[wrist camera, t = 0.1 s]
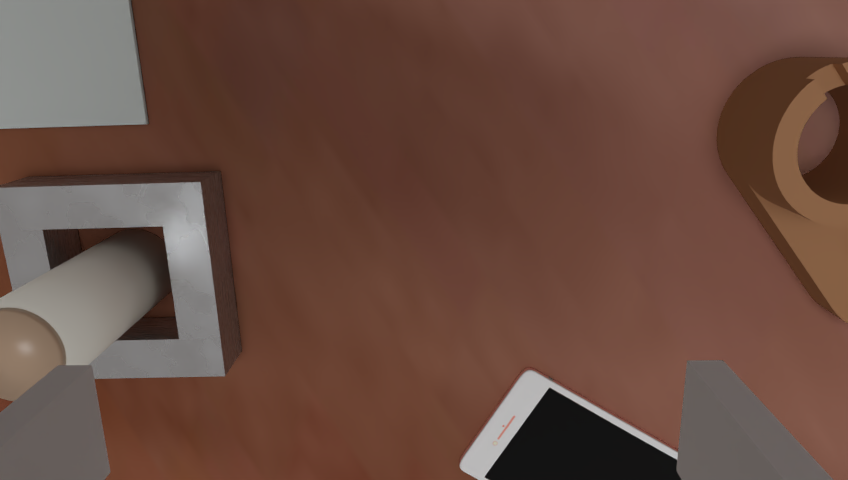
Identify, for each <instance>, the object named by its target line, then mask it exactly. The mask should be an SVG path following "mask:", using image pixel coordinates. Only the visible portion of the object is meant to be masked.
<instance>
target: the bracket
mask: <svg viewBox="0 0 848 480" xmlns="http://www.w3.org/2000/svg"><path fill="white" fill-rule="evenodd" d="M826 92H829V93H830V95H831V96H832V97H833V99H834V101H835V103H836V105H837V108H838V111H839V117H840V127H839V133H838V137H837V140H836V142H835V145H834V147H833V149H832V150H831V152H830V153H829V155H828V156H827V157H826V158H825V160H824V161H823V162H822V163H821V164H820V165H818V166H817V167H816V168H815V169H813V170H812V171H810V172H808V173H806V174H804V175H801V173H800V170H799V166H798V158H797V150H798V143H799V139H800V136H801V133H802V130H803V128H804V126H805V124H806V122H807V121H808V119H809V117H810V116H811V115H812V113H813V112H814V111H815V110H816V109H817V107H818V106H820V105H821V104H822V103H823V102H824V101H825V100H826V99H827V97H826V96H825V94H824V93H826ZM717 148H718V153H719V157H720V160H721V163H722V165H723V167H724V169H725V171H726V172H727V174H728V175H729V177H730V178H731V180H732V181H733V183H734V184H735V186H736V187H737V189H738V190H739V192H740V193H741V195H742V196H743V197H744V199H745V200H746V202H747V203H748V205H749V206H750V208H751V209H752V211H753V212H754V214H755V215H756V217H757V218H758V220H759V221H760V222H761V224H762V225H763V227H764V228H765V230H766V231H767V233H768V234H769V236H770V237H771V239H772V240H773V242H774V243H775V244H776V246H777V247H778V249H779V250H780V252H781V253H782V255H783V256H784V258H785V259H786V261H787V262H788V264H789V265H790V267H791V268H792V269H793V271H794V272H795V274H796V275H797V277H798V278H799V280H800V281H801V283H802V284H803V286H804V287H805V289H806V290H807V292H808V293H809V294H810V296H811V297H812V298H813V299H814V300H815V301H816V302H817V303H818V304H819V305H821V306H822V307H824V308H825V309H827V310H828V311H830V312H831V313H833V314H834V315H836V316H837V317H839V318H840V319H842V320H843V321H845V322H846V323H848V58H825V57H795V58H786V59H781V60H778V61H774V62H772V63H769V64H767V65H765V66H763V67H761V68H759V69H758V70H756V71H755V72H754V73H752V74H751V75H750V76H748V77H747V78H745V79H744V80H743V81H742V82H741V83H740V84H739V85H738V86H737V88H736V89H735V90H734V91H733V93H732V94H731V96H730V97H729V99H728V100H727V102H726V104H725V106H724V108H723V111H722V113H721V116H720V119H719V124H718V129H717Z"/></svg>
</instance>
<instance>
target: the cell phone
mask: <svg viewBox="0 0 848 480" xmlns="http://www.w3.org/2000/svg"><path fill="white" fill-rule="evenodd" d="M677 458H678V450H677V449H676V448H674V447H672V446H670V445H669V444H667V443H665V442H663V441H662V440H660V439H658V438H656V437H654V436H653V435H651V434H649V433H647V432H646V431H644V430H642V429H640V428H639V427H637V426H635V425H633V424H631V423H630V422H628V421H626V420H624V419H623V418H621V417H619V416H617V415H616V414H614V413H612V412H610V411H608V410H607V409H605V408H603V407H601V406H600V405H598V404H596V403H594V402H593V401H591V400H589V399H587V398H585V397H584V396H582V395H580V394H578V393H577V392H575V391H573V390H571V389H570V388H568V387H566V386H564V385H562V384H561V383H559V382H557V381H555V380H554V379H552V378H550V377H548V376H547V375H545V374H543V373H541V372H539V371H538V370H536V369H534V368H531V367H528V368H525V369H524V370H523V371H522V372H521V373H520V374H519V375H518V376H517V378H516V379H515V381H514V382H513V384H512V385H511V386H510V388H509V389H508V391H507V392H506V393H505V395H504V396H503V398H502V399H501V400H500V402H499V403H498V405H497V406H496V408H495V409H494V410H493V412H492V413H491V415H490V416H489V417H488V419H487V420H486V422H485V423H484V424H483V426H482V427H481V429H480V430H479V431H478V433H477V434H476V436H475V437H474V439H473V440H472V441H471V443H470V444H469V446H468V447H467V448H466V450H465V451H464V453H463V454H462V456H461V458H460V468H461V470H462V471H464V472H466V473H467V474H469V475H471V476H473V477H475V478H476V479H478V480H681V478H680V476H679V474H678V473H677V471H676V468H677Z"/></svg>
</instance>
